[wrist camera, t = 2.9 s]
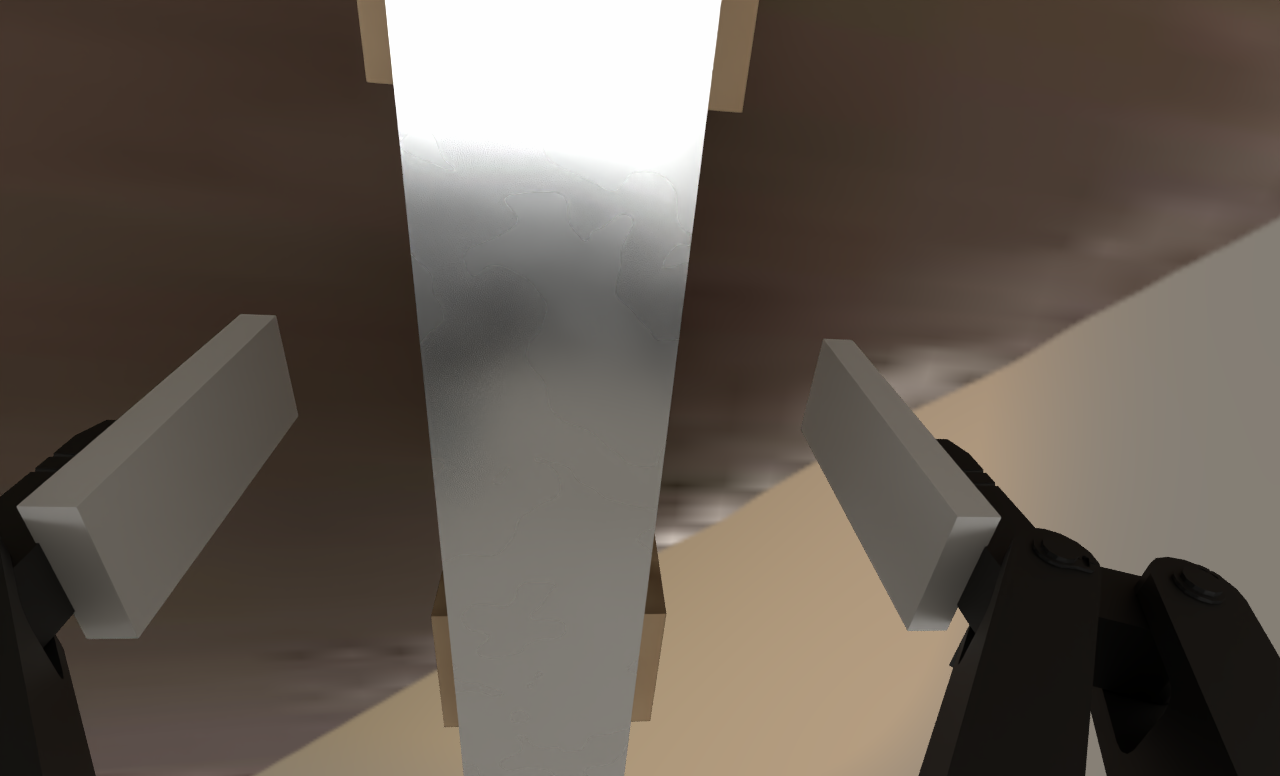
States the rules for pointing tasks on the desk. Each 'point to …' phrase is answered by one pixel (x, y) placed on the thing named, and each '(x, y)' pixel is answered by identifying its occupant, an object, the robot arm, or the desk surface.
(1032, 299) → the desk surface
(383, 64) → the post
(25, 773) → the robot arm
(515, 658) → the rail
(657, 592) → the post
